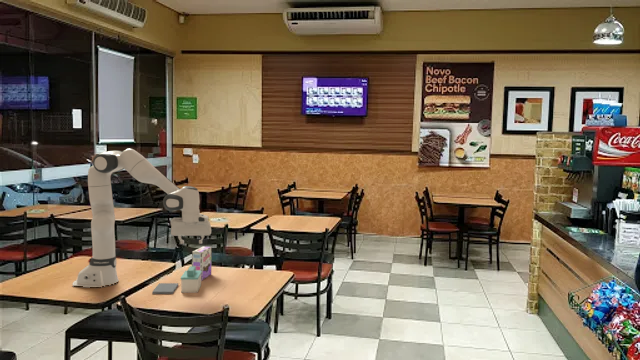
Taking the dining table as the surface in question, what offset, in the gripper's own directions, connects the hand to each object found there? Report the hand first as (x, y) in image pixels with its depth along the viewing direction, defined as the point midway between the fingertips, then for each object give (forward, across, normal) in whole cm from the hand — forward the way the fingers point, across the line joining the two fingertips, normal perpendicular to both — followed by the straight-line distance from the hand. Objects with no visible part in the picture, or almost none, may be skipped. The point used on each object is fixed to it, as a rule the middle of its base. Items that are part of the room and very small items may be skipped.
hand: (191, 243), depth 250 cm
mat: (+24, -13, -1) cm, 27 cm away
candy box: (+24, +2, +21) cm, 32 cm away
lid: (+18, 0, 0) cm, 18 cm away
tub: (+24, 0, 0) cm, 24 cm away
